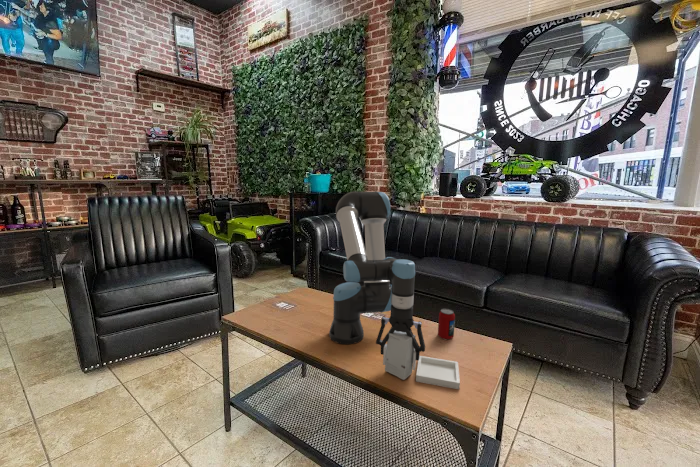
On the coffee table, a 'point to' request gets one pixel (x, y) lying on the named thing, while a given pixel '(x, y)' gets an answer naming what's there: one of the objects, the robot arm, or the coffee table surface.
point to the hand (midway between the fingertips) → (399, 365)
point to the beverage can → (446, 324)
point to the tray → (438, 372)
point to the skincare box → (399, 354)
